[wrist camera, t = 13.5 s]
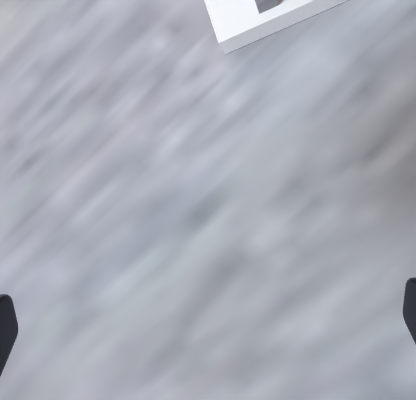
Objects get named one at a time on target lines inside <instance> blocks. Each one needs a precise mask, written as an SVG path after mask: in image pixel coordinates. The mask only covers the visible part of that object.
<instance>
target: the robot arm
mask: <svg viewBox="0 0 416 400" xmlns="http://www.w3.org/2000/svg"><path fill="white" fill-rule="evenodd" d="M403 317H404V320H405V323H406V325H407V327H408V329H409V331H410V333H411V335H412V337H413V340H414V342H415V344H416V278H410V279H409V280H407V283H406V287H405V296H404V304H403ZM17 334H18V323H17V318H16V314H15V309H14V305H13V301H12V299H11V297H10V296H9V295H6V294H1V295H0V376H1V374H2V371H3V369H4V367H5V364H6V362H7V359H8V357H9V354H10V352H11V350H12V347H13V345H14V342H15V340H16V338H17Z"/></svg>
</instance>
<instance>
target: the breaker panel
mask: <svg viewBox="0 0 416 400" xmlns="http://www.w3.org/2000/svg"><path fill="white" fill-rule="evenodd" d="M204 1H205V4H206V7H207V10H208V13H209V16H210V19H211V22H212V25H213V28H214V31H215V34H216V37H217V40H218V43H219V45H220V46H221V48H222V50H223V51H224V53H225V54H227V53H230V52H232V51H234V50H236V49H239V48H241V47H243V46H246V45H248V44H250V43H252V42H255V41H257V40H259V39H261V38H264V37H266V36H268V35H271V34H273V33H275V32H277V31H280V30H282V29H284V28H287V27H289V26H291V25H293V24H296V23H298V22H300V21H303V20H305V19H307V18H309V17H312V16H314V15H316V14H318V13H321V12H323V11H325V10H328V9H330V8H332V7H334V6H337V5H339V4H341V3H344V2H346V1H348V0H204Z"/></svg>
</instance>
